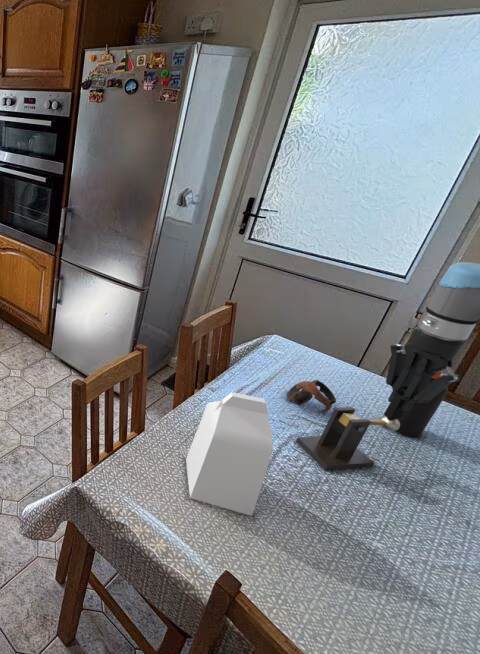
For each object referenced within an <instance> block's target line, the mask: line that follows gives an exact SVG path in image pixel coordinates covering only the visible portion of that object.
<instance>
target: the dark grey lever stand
mask: <svg viewBox="0 0 480 654" xmlns="http://www.w3.org/2000/svg"><path fill="white" fill-rule="evenodd" d="M355 412H356V409H355V407H353V406H344V407H341V406H340V407H334V409H333V410H332V412H331V415H330V417H329V419H328V421H327V423H326V424H325V427H324V429H323V431H322V433H321V435H315V436H313V435H312V436H297V438H296V439H295V442H296V443H297V444H298V445H299V447H300V448H302V449H303V450H304V451H305V452H306V453H307V454H308V455H309V456H310V457H311V458H312V459H313V460H314V461H315V462H316V463H317V464H318V465H319V466H320V467H321V468H322V469H323V470H324V471H330V470H331V471H333V470H347V469H360V468H372V467H373V466H374V465H375V462H374V460H372V459H371V458H369V456H367V455H366V454H365V453H363V452H362V450H360V449H359V448H358V447H359V445H360V443H361V441H362V440H363V438H364V436H365V434H366V432H367V430H368V429H369V427H370V426H371V425H370V423H371V421H370V420H368V419H369V418H367V419H355V420H349V422H348V424H347V426H344V425H343V424H342V423H341V422H339V421H338V420H339V419H340V417H341V416H342V414H343V413H350V414H355Z"/></svg>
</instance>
